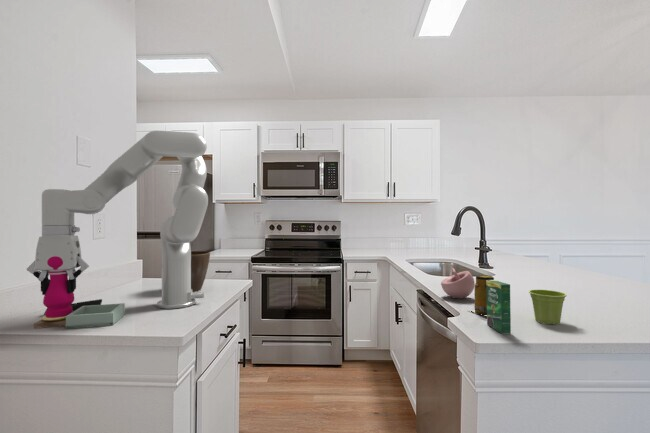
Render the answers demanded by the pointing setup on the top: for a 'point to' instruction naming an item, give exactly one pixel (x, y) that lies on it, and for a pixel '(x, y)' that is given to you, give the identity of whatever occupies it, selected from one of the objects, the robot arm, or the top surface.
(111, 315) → the trough tray
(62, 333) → the top surface
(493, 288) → the coffee box
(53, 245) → the robot arm
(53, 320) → the gold disc
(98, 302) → the electric trimmer
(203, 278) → the plant pot
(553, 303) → the plant pot
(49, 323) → the checker plinth
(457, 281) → the mortar and pestle
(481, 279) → the condiment
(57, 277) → the pepper mill
